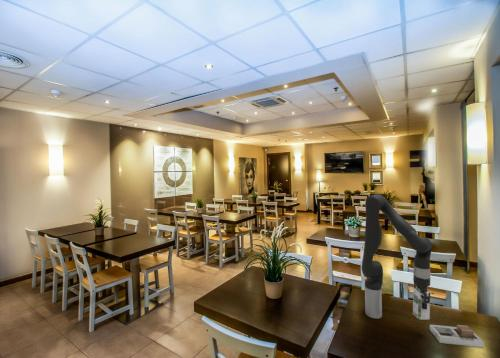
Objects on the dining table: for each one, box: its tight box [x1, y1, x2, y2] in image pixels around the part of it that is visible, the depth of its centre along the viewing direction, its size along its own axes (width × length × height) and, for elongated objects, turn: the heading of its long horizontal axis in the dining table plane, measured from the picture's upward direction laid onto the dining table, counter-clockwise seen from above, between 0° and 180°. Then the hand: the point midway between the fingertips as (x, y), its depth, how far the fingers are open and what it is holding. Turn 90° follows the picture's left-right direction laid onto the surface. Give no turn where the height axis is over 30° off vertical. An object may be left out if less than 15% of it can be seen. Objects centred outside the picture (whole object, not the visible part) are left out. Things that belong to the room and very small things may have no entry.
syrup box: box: [412, 287, 431, 320], centre depth 136 cm, size 6×6×14 cm
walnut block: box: [456, 324, 475, 339], centre depth 132 cm, size 5×5×6 cm
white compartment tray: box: [429, 324, 485, 349], centre depth 133 cm, size 11×19×3 cm, turn 77°
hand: (421, 305), depth 136 cm, fingers closed on syrup box, 6 cm apart
